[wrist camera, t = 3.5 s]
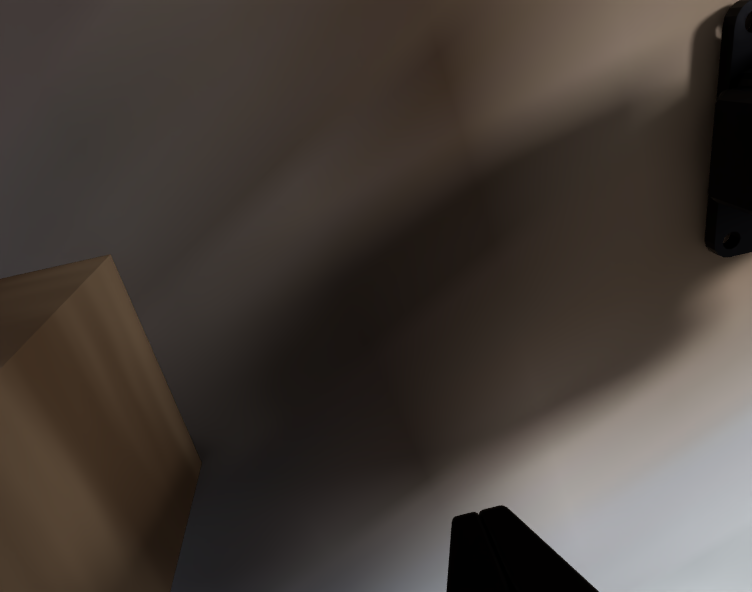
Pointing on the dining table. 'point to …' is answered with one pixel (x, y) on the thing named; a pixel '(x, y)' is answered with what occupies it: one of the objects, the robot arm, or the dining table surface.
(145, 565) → the walnut block
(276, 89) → the dining table surface
